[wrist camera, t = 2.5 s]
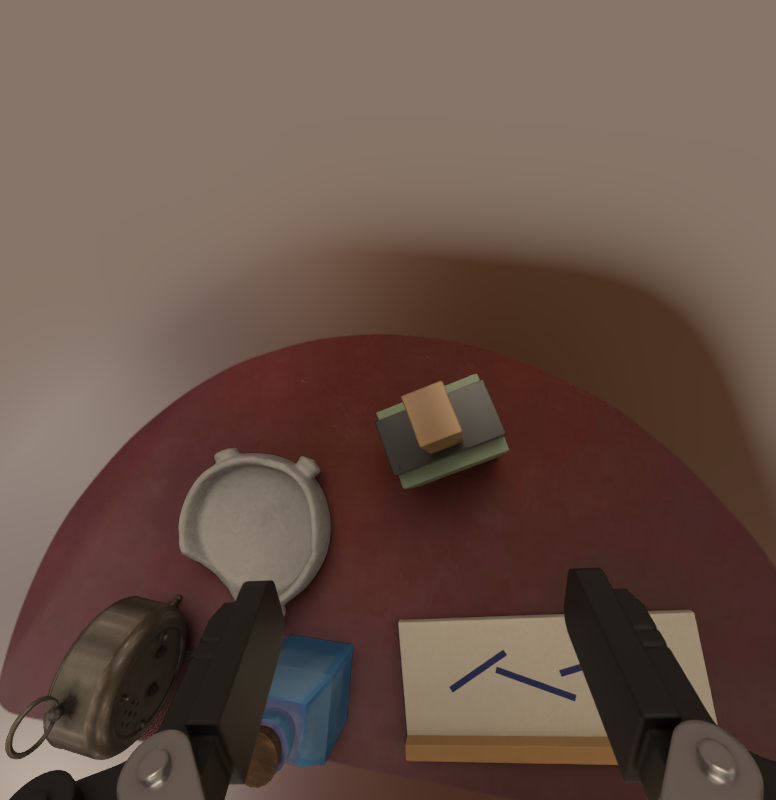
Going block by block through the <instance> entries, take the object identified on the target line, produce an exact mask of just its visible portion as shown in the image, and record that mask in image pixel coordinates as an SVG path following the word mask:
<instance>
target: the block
mask: <svg viewBox="0 0 776 800" xmlns="http://www.w3.org/2000/svg"><path fill="white" fill-rule="evenodd" d="M478 381H480V380H479V377H478V375H477V374H473V375H471V376H468V377H466V378H463V379H461V380H458V381H456V382H453V383H451V384H448V385H445V386H444V387H445V389H446V392H447V393H449V392H452V391H455V390H457V389H460V388H462V387H465V386H467V385H470V384H472V383H475V382H478ZM403 410H405V407H404V404H403V402H402V403H400V404H397V405H395V406H392V407H390V408H387V409H384V410H382V411H379V412H377V416H378V419H379V420H380V419H383V418H385V417H388V416H391V415H393V414H396V413H398V412H401V411H403ZM508 450H509V448H508V445H507V443H506V441H505V438H504V437H502V438H499V439H496V440H494V441H491V442H488V443H486V444H483V445H480V446H478V447H475V448H472V449H470V450H467V451H464V452H462V453H459V454H456V455H454V456H451V457H448V458H446V459H443V460H440V461H438V462H435V463H432V464H430V465H427V466H424V467H422V468H419V469H416V470H414V471H411V472H408V473H406V474H403V475H400V476H399V478H400V481H401V484H402V486H403V489H408V488H413V487H419V486H422V485H425V484H427V483H430V482H433V481H435V480H438V479H441V478H444V477H446V476H449V475H452V474H454V473H457V472H460V471H462V470H465V469H468V468H471V467H473V466H476V465H479V464H481V463H484V462H487V461H490V460H492V459H495V458H498V457H499V456H501V455H503V454H504V453H506V452H507V451H508Z"/></svg>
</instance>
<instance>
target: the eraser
mask: <svg viewBox="0 0 776 800" xmlns="http://www.w3.org/2000/svg"><path fill="white" fill-rule="evenodd" d="M401 399H402V402H403V404H404V407H405V410H403V411H401V412H398V413H396V414H393V415H391V416H388V417H385V418H383V419H380V420H378V421H376V422H375V423H376V426H377V429H378V432H379V434H380V437H381V440H382V443H383V446H384V448H385V451H386V454H387V457H388V460H389V463H390V465H391V468H392V471H393V474H394V476H400V475H403V474H406V473H408V472H411V471H414V470H416V469H419V468H422V467H424V466H427V465H430V464H432V463H435V462H438V461H440V460H443V459H446V458H448V457H451V456H454V455H456V454H459V453H462V452H464V451H467V450H470V449H472V448H475V447H478V446H480V445H483V444H486V443H488V442H491V441H494V440H496V439H499V438H502V437H504V436H505V434H506V432H505V430H504V427H503V425H502V422H501V420H500V418H499V415H498V413H497V411H496V408H495V406H494V404H493V401H492V399H491V397H490V394H489V392H488V390H487V387H486V385H485V383H484V380H480V381H478V382H475V383H472V384H470V385H467V386H465V387H462V388H460V389H457V390H455V391H452V392H449V393H447V392H446V389H445V387H444V384H443V382H442V381H439V382H436V383H433V384H431V385H428V386H426V387H423V388H421V389H418V390H416V391H413V392H411V393H408V394H406V395H403V396H401Z"/></svg>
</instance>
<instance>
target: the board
mask: <svg viewBox="0 0 776 800" xmlns="http://www.w3.org/2000/svg"><path fill="white" fill-rule="evenodd" d="M648 613H649V614H650V616H651V618H652V619H653V621H654V623H655V624H656V626H657V630H659V631H660V633H661V634H662V636H663V638H664V639H665V641H666V643H667V647H668V648H670V649H671V651H672V653H673V655H674V656H675V658H676V660H677V661H678V663H679V665H680V666H681V668H682V670H683V671H684V673H685V675H686V676H687V678H688V680H689V681H690V683H691V685H692V686H693V688H694V690H695V691H696V693H697V695H698V696H699V698H700V700H701V701H702V703H703V705H704V706H705V708H706V710H707V711H708V713H709V715H710V716H711V718H712V719H713V720H714V722H715V723H716V724H717V720H716V715H715V711H714V706H713V701H712V696H711V691H710V687H709V682H708V677H707V672H706V667H705V663H704V658H703V653H702V648H701V643H700V639H699V634H698V629H697V624H696V619H695V614H694V612H692V611H691V610H667V611H648ZM398 627H399V640H400V652H401V664H402V676H403V688H404V700H405V712H406V724H407V739H406V743H405V750H406V761H431V762H487V763H543V764H599V765H618V763H617V760H616V757H615V755H614V752H613V750H612V747H611V744H610V742H609V739H608V737H607V734H606V731H605V729H604V726H603V723H602V721H601V718H600V716H599V713H598V710H597V708H596V705H595V703H594V700H593V697H592V695H591V692H590V689H589V687H588V684H587V682H586V679H585V676H584V674H583V671H582V669H581V666H580V663H579V661H578V658H577V656H576V653H575V650H574V648H573V645H572V642H571V640H570V637H569V635H568V632H567V628H566V624H565V618H564V614H553V615H525V616H497V617H469V618H440V619H412V620H399V622H398Z"/></svg>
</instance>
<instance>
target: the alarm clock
mask: <svg viewBox="0 0 776 800" xmlns="http://www.w3.org/2000/svg"><path fill="white" fill-rule="evenodd" d="M181 600H182V596H181V595H177V596H176V597H175V599H174V600H173V601H172V602H171V603H169V604H165V603H161V602H157V601H153V600H149V599H145V598H142V597H138V596H132V597H127V598H124V599H121V600H119V601H117V602H115V603H114V604H112V605H111V606H109V607H108V608H106V609H105V610H104V611H102V612H101V613H100V614H99V615H98V616H97V617H96V618H95V619H94V620H93V621H92V622H91V623H90V624H89V625H88V626H87V627H86V628H85V630H84V631H83V632H82V633H81V634H80V636H79V637H78V638H77V640H76V641H75V642H74V644H73V645H72V647H71V648H70V650H69V651H68V653H67V654H66V656H65V658H64V659H63V661H62V663H61V665H60V666H59V668H58V670H57V672H56V675H55V677H54V679H53V682H52V684H51V687H50V690H49V693H48V696H45V697H41V698H38V699H37V700H35V701H33V702H32V703H31V704H30V705H28V706H27V707H26V708H25V709H24V710H23V711H22V713H21V714H20V715H19V716H18V717H17V719H16V720H15V721H14V723H13V725H12V726H11V728H10V731H9V733H8V736H7V739H6V745H5V750H6V753H7V755H8V756H9V757H10V758H12V759H21V758H23V757H25V756H27V755H29V754H30V753H31V752H33V751H34V750H35V749H36V748H38V746H40V745H41V744H42V742H43V741H44V740H45V738H46V739H47V740H48V742H49V743H50V744H51V745H52V746H53V747H56V748H59V749H64V750H68V751H71V752H74V753H77V754H80V755H83V756H87V757H90V758H92V759H98V760H104V759H109V758H111V757H114V756H116V755H118V754H119V753H121V752H123V751H124V750H126V749H127V748H128V747H129V746H131V745H132V744H133V743H134V742H135V741H136V740H137V739H138V738H139V737H140V736H141V735H142V734H143V733H144V732H145V731H146V729H147V728H148V727H149V726H150V724H151V723H152V722H153V720H154V719H155V717H156V716H157V715H158V713H159V711H160V710H161V708H162V707H163V705H164V703H165V701H166V699H167V697H168V696H169V694H170V692H171V690H172V687H173V685H174V683H175V681H176V678H177V675H178V673H179V670H180V667H181V664H182V662H183V660H186V659H188V658H191V657H193V655H194V652H195V650H196V649H193V650H188V651H186V650H185V647H186V638H187V631H186V623H185V619H184V617H183V615H182V613H181V612H180V610H179V609H178V608H176V605H177V603H178V602H180V601H181ZM43 701H46V704H45V709H44V721H43V723H44V735H43V736H42V737H41V738H40V740H39V741H38V742H37V743H36V744H35V745H34V746H33V747H31V748H30V749H29V750H27V751H25V752H22V753H17V752H15V751H14V750H13V747H12V740H13V736H14V732H15V730H16V729H17V727H18V725H19V724H20V722H21V721H22V719H23V718H24V717H25V715H26V714H27V713H28V712H29V711H30V710H31V709H32V708H33V707H34V706H36V705H37V704H39V703H40V702H43Z"/></svg>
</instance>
